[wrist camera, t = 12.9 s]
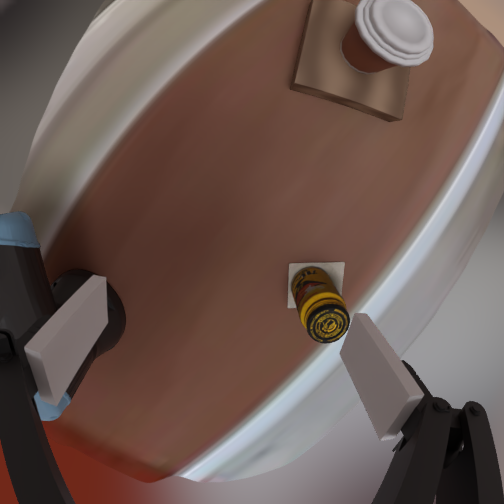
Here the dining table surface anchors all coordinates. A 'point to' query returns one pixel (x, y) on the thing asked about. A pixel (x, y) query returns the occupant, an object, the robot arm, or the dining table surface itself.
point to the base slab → (344, 66)
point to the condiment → (319, 299)
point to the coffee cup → (387, 36)
